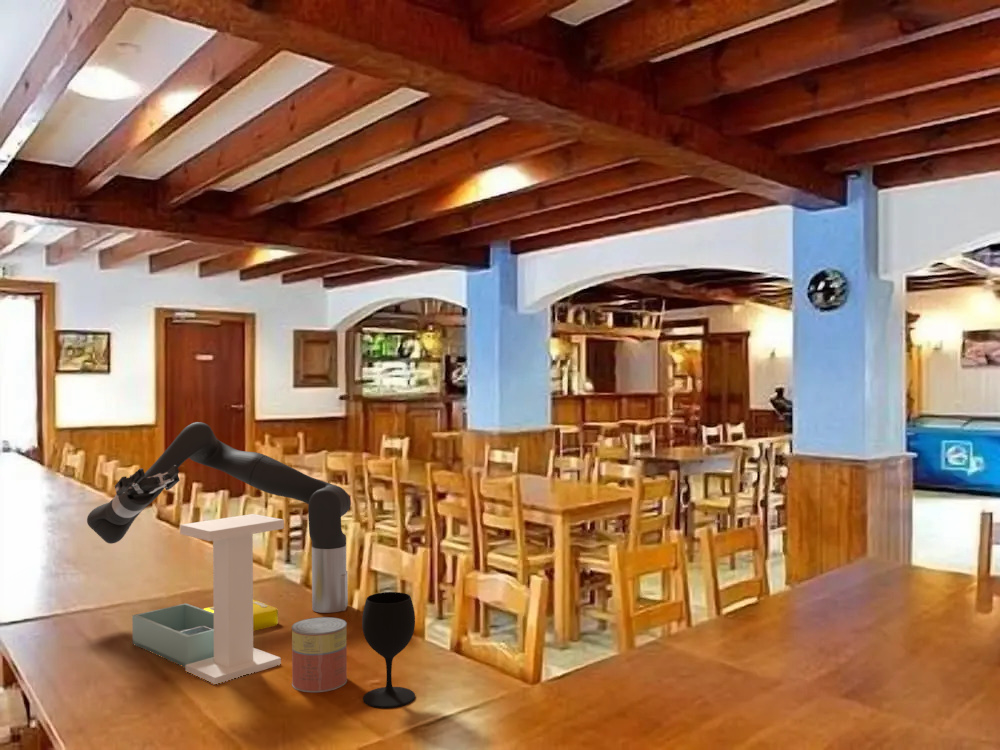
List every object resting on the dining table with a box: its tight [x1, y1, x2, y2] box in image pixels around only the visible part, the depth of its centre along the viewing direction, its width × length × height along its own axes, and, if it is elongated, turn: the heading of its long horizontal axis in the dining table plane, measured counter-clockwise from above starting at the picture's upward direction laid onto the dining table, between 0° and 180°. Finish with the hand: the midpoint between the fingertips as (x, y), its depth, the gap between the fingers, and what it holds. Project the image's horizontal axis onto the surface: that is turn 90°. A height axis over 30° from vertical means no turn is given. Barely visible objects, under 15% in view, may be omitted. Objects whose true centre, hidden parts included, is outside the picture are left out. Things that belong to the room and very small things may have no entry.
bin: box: [131, 603, 214, 668], centre depth 198 cm, size 26×14×7 cm, turn 49°
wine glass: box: [361, 591, 416, 709], centre depth 168 cm, size 10×10×20 cm
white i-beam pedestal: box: [179, 513, 285, 685], centre depth 185 cm, size 12×18×32 cm, turn 139°
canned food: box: [291, 616, 348, 693], centre depth 177 cm, size 11×11×12 cm
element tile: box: [203, 598, 279, 632], centre depth 218 cm, size 15×15×5 cm
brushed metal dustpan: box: [166, 626, 212, 635], centre depth 199 cm, size 20×7×4 cm, turn 50°
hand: (159, 470), depth 206 cm, fingers open, 8 cm apart
